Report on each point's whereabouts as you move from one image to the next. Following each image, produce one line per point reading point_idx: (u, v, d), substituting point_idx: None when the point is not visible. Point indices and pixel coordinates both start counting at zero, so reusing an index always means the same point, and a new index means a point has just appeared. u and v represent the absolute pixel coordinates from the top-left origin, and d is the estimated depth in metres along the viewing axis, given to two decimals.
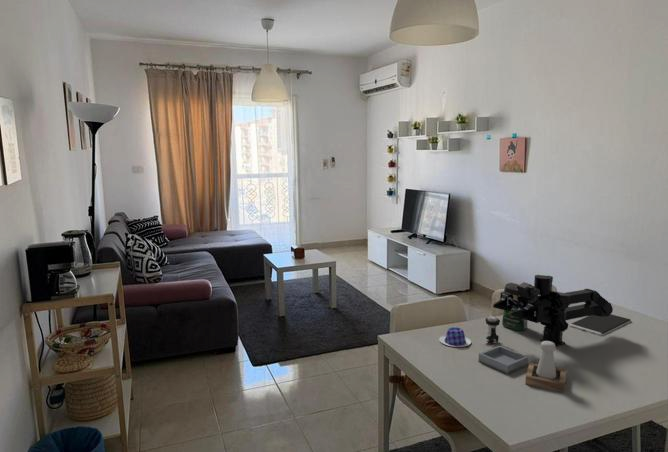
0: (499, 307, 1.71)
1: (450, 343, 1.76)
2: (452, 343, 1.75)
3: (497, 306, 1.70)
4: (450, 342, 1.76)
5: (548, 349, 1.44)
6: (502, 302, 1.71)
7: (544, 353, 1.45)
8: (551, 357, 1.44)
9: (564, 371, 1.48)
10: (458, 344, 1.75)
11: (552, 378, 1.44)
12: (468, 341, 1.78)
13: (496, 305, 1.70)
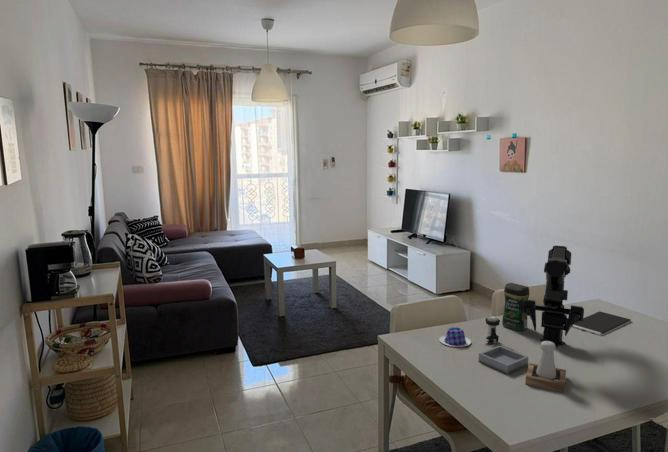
0: None
1: (450, 343, 1.76)
2: (452, 343, 1.75)
3: None
4: (450, 342, 1.76)
5: (548, 349, 1.44)
6: (535, 318, 1.56)
7: (544, 353, 1.45)
8: (551, 357, 1.44)
9: (564, 371, 1.48)
10: (458, 344, 1.75)
11: (552, 378, 1.44)
12: (468, 341, 1.78)
13: None
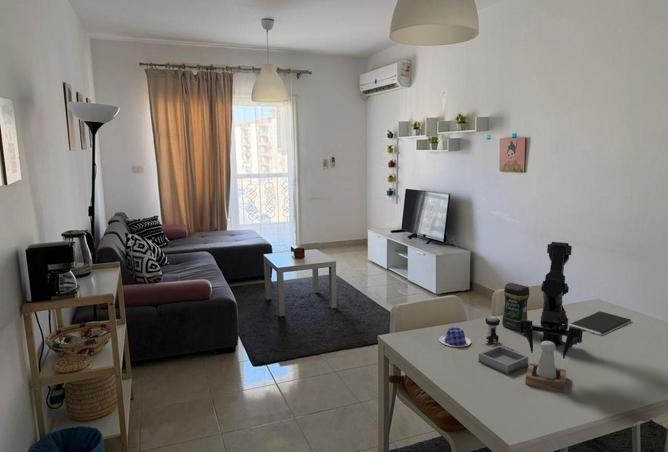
0: None
1: (450, 343, 1.76)
2: (452, 343, 1.75)
3: None
4: (450, 342, 1.76)
5: (548, 349, 1.44)
6: (532, 339, 1.50)
7: (544, 353, 1.45)
8: (551, 357, 1.44)
9: (564, 371, 1.48)
10: (458, 344, 1.75)
11: (552, 378, 1.44)
12: (468, 341, 1.78)
13: (532, 348, 1.49)
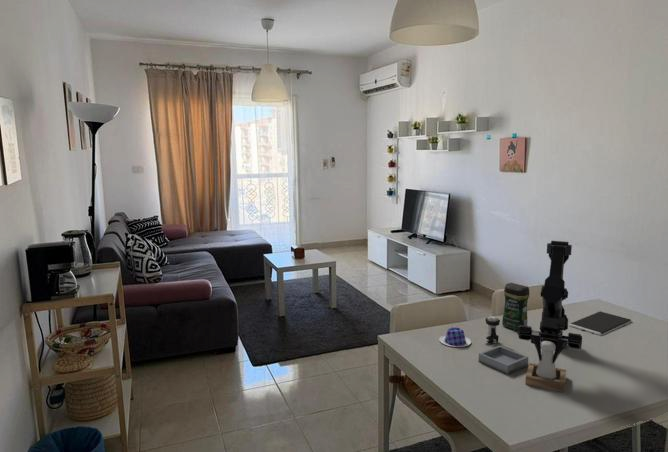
0: None
1: (451, 343, 1.75)
2: (453, 343, 1.75)
3: None
4: (451, 342, 1.75)
5: (548, 349, 1.44)
6: (540, 347, 1.48)
7: (544, 353, 1.45)
8: (551, 357, 1.44)
9: (564, 371, 1.48)
10: (459, 344, 1.75)
11: (552, 378, 1.44)
12: (468, 341, 1.78)
13: None
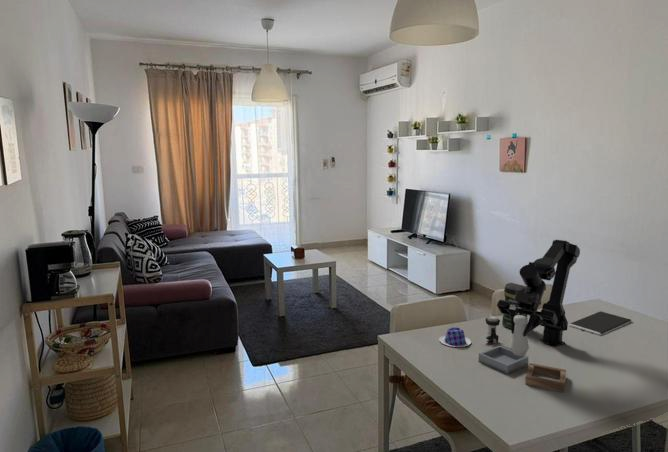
0: None
1: (451, 343, 1.75)
2: (453, 343, 1.75)
3: None
4: (451, 342, 1.75)
5: (518, 322, 1.50)
6: None
7: (516, 326, 1.51)
8: (522, 330, 1.50)
9: (564, 371, 1.48)
10: (459, 344, 1.75)
11: (522, 350, 1.50)
12: (468, 341, 1.79)
13: None
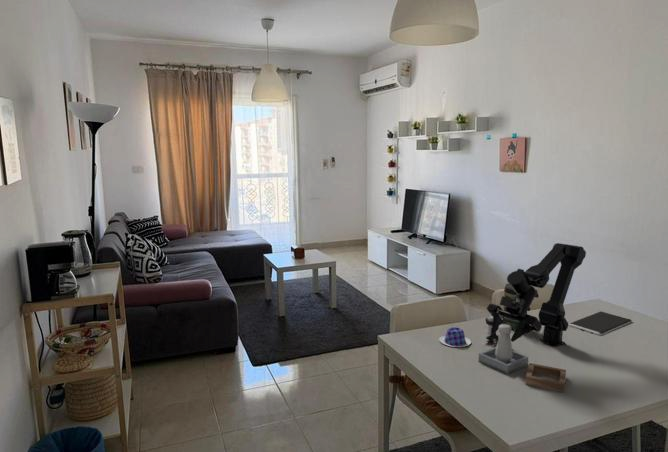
0: (497, 328, 1.62)
1: (451, 343, 1.75)
2: (453, 343, 1.75)
3: (495, 330, 1.61)
4: (451, 342, 1.75)
5: (501, 331, 1.56)
6: (496, 322, 1.61)
7: (500, 335, 1.58)
8: (505, 339, 1.57)
9: (564, 371, 1.48)
10: (459, 344, 1.75)
11: (505, 358, 1.57)
12: (467, 340, 1.79)
13: (494, 330, 1.61)
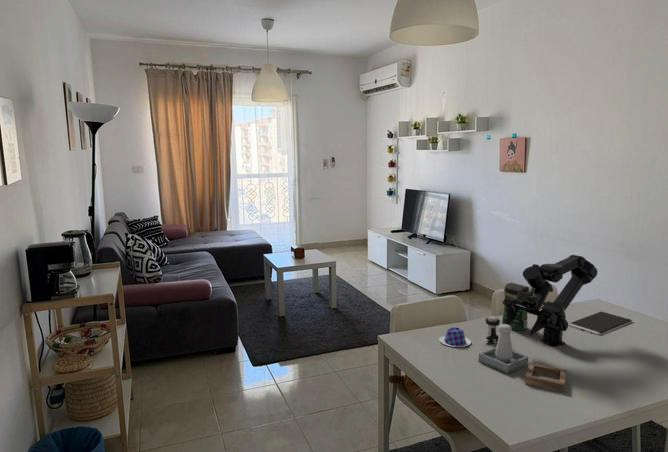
0: (511, 321, 1.68)
1: (452, 344, 1.75)
2: (454, 343, 1.75)
3: (509, 323, 1.67)
4: (452, 343, 1.75)
5: (501, 331, 1.57)
6: (510, 315, 1.67)
7: (500, 335, 1.58)
8: (505, 339, 1.57)
9: (564, 371, 1.48)
10: (460, 344, 1.75)
11: (505, 358, 1.57)
12: (467, 340, 1.79)
13: (508, 323, 1.67)
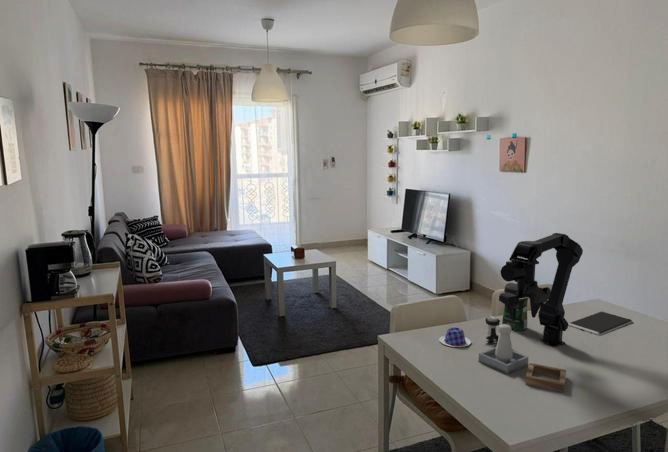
0: None
1: (452, 344, 1.75)
2: (454, 343, 1.75)
3: None
4: (452, 343, 1.75)
5: (501, 331, 1.57)
6: None
7: (500, 335, 1.58)
8: (505, 339, 1.57)
9: (564, 371, 1.48)
10: (460, 344, 1.75)
11: (505, 358, 1.57)
12: (467, 340, 1.79)
13: None
